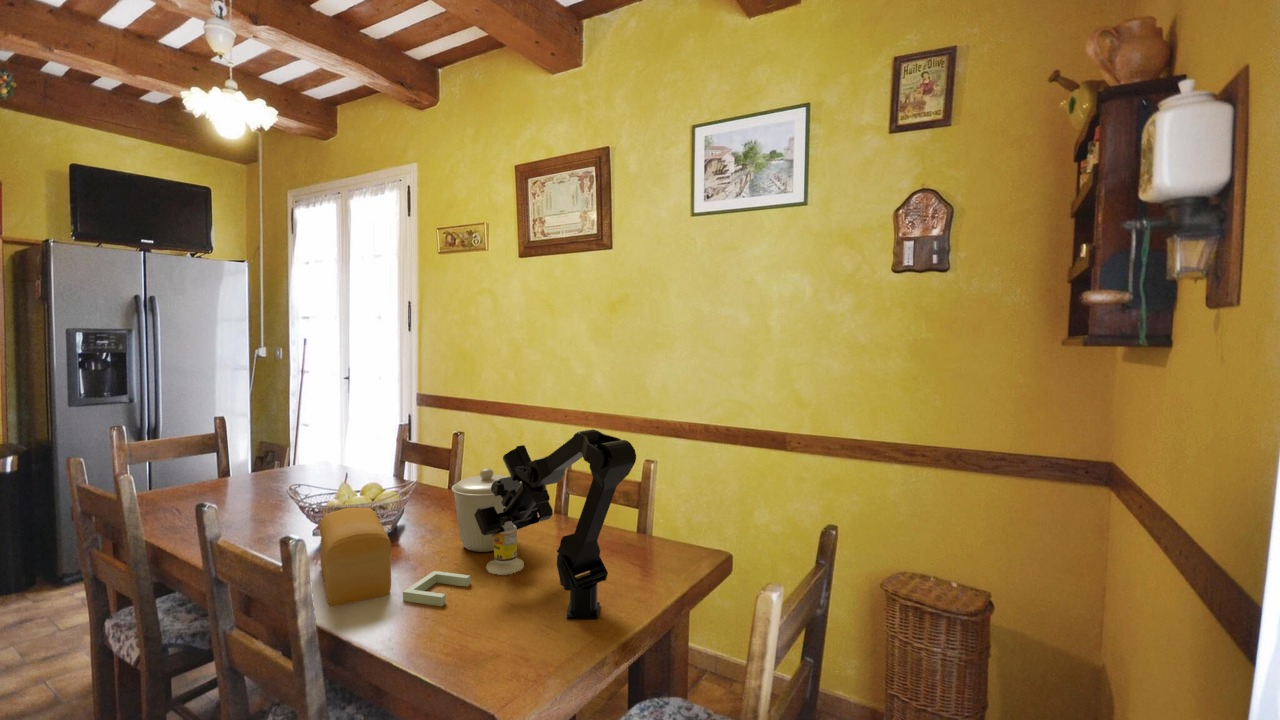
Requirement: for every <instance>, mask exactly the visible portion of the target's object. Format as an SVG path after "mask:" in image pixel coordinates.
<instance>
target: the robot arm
mask: <svg viewBox="0 0 1280 720" xmlns="http://www.w3.org/2000/svg"><path fill="white" fill-rule="evenodd" d="M580 459H583V461H584V462H586V463H588V464H589V469H590V472H591V476H592V481H591V482H590V483H591V484H590V487H589V488H588V489H589V490H588V492H587V495H586V498H585V501H584V504H583V507H582V510H581V513H580V516H579V519H578V521H577V525H576V526H575V527H576V528H575V531H574V532H573V533H570V534H568V535H564V536H562V538H561V539H560V544H559V547H558V549H557V550H556V552H557V553H558V554H557V557H556V568H557V571H558V572H557V573H558V578H559V582H560V586H562V587H563V590H564V591H569V603H568V606H567V613H566V619H569V620H571V619H573V620H574V619H575V620H577V619H582V620H583V619H587V620H588V619H589V620H590V619H592V620H594V619H595V620H597V619H599V615H600V607H601V602H600V601H599V602H598V583H601V582H605V581H607V577H608V573H609V572H608V570H607V568H606V566H605V564H604V562H603V560H602V558H601V555H600V554H601V547H600V545H599V542H598V539H599V536H600V534H601V531H602V528H603V525H604V523H605V520H606V517H607V515H608V511H609V509H610V506H611V503H612V501H613V498H614V495H615V492H616V489H617V487H618V486H619V485H620V483H621V482H622V481H624V479H625V478H626V477H628V475H629V474H630V473H631V471H632V469H633V467H634V465H635V464H636V461H637V454H636V449H635V447H634V446H633V444H632V443H630V441H629V440H626V439H621V438H620V437H619V438H618V437H616V436H612V435H609V434H605V433H602V432H601V431H599V430H597V429H593V428H592V429H587V430H581V431H577V432H576V433H574V434H573V436H572V437H571V438H570V439H568V440H567V441H566V442H565V443H563V444H561V446H559V447H558V448H557V449H555V450H554V451H552V453H550V454H549V455H547V456H544V457H540V458H536V459H534V460H532V459H531V457H530V455H529V453H528V450H527V448H526V446H525V445H524V444H523V445H516V447H515V448H514V449H511V450H510V451H508V452H507V453H504V454H503V456H502V460H503V463H504V465H505V467H506V469H507V471H508V473H509V475H510V476H509V477H506V478H501V479H499V480H496V481H495V482H494V483H493V484H492V486H491V491H492V493H493V494H494V495H495V496H499V495H500V496H501V497H502V498H503V500H502V502H501V503H502V505H503V506H505V507H506V508H504V509H503V512H502V513H498V514H497V512H496V509H495V508H494V506H486V507H482V508H478V509H477V511H476V513H475V515H474V516H475V518H476V521H477V523H478V526H479V528H480V530H481V533H482V534H483V535H489V534H491V535H492V537H493V536H495V535H498V534H500V533H502V532H504V531H505V530H504V528H503V526H504V525H505V523H506V522H510V521H512V523H514V525H515V526H516V527H517V531H518V530H522V529H523V528H527V527H529V526H532V525H534V524H538V523H540V522H543V521H546V520H547V521H548V520H550V519H551V518H552V516H553V514H554V513H553V511H554V509H553V507H552V505H551V503H550V494H549V492H548V490H547V486H549V485H553V484H558V483H559V482H560V480H561V479H563V477H564V476H565V473H566V472H565V471H566V470H567V469H568V468H569V467H570V466H573V465H574V464H575V463H576V462H578V461H579V460H580ZM538 516H539V517H538Z"/></svg>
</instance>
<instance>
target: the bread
mask: <svg viewBox="0 0 1280 720" xmlns="http://www.w3.org/2000/svg"><path fill="white" fill-rule="evenodd" d="M318 530H319V534H320V565H321V574H322V575H321V576H322V578H323V585H324V590H325V594H326V600H327V604H328V605H329V607H333V608H335V607H340V606H342V605H343V606H344V605H349V604H353V603H358V602H363V601H366V600H367V601H368V600H371V599H376V598H383V597H386V596H389V595H390V594H391V589H392V587H391V586H392V569H391V554H392V542H391V540H390V538H389V535H388V534H387V532H386V530H385V528H384V526H383V525H382V523H381V520H380V519H379V516H378V515H377V513H376V511H374V510H373V509H372V508H369V507H347V508H342V509H338V510H333V511H332V512H329V513H327V514H325V515H324V516H323V517H322V518H321V519H320V522H319V527H318Z"/></svg>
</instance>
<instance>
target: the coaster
mask: <svg viewBox="0 0 1280 720" xmlns="http://www.w3.org/2000/svg"><path fill="white" fill-rule="evenodd" d="M524 568H525V562H524V561H523V559H521V558H518V557H517V559H516V560H515V561H513V562H510V563H498V562H496V561H495V560H494V559H493V560H491V561H489V562H488V563H487V564H486V569H487V570H486V571H488V572H487V573H488V574H491V573H492V574H491V575H494V574H497V575H496V576H508V574H509V575H513V573H514V574H517V573H519V572H520V571H522V570H523V569H524ZM518 571H519V572H518ZM516 572H517V573H516Z"/></svg>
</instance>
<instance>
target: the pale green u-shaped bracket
mask: <svg viewBox="0 0 1280 720" xmlns="http://www.w3.org/2000/svg"><path fill="white" fill-rule="evenodd" d="M435 584H444V585H451V586H459V587H465V586H466V587H465V588H468V587H469V586H470V585H472V584H471V575H469V574H468V575H467V574H462V573H455V572H454V573H452V572H447V571H440V570H439V571H438V570H433V571H432V572H430V573H429V574H427V575H426V576H424V577H423V578H422V579H419V580H418V581H416V583H413V584H412V585H411V586H409V587H408V588H406V589H405V590H403V591H402V602H403V601H404V602H409V603H416V604H423V605H430V606H435V607H443V606H444V605H446V604H447V602H446V600H447V599H446V598H447V597H446V596H447V595H446V593H439V592H433V591H426V590H428V589H429V588H431V587H432V586H434V585H435Z"/></svg>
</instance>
